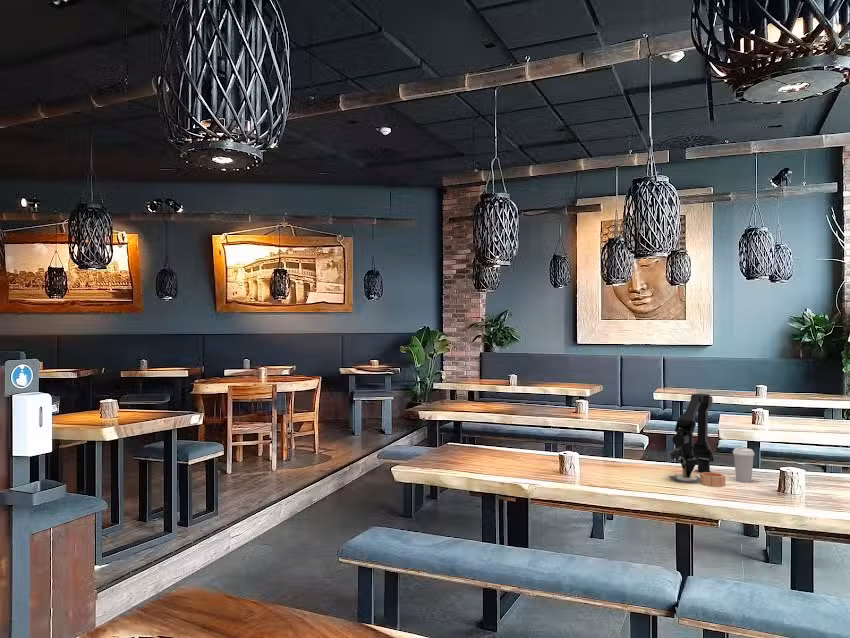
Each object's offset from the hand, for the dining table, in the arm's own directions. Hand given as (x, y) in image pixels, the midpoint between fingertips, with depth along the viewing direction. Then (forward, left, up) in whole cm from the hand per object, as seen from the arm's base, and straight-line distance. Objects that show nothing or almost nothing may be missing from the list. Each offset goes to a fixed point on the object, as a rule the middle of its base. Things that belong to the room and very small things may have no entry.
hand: (686, 476), depth 310 cm
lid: (0, 0, -1) cm, 1 cm away
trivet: (0, 0, -2) cm, 2 cm away
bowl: (+9, +9, -2) cm, 13 cm away
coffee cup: (-2, +27, -2) cm, 27 cm away
